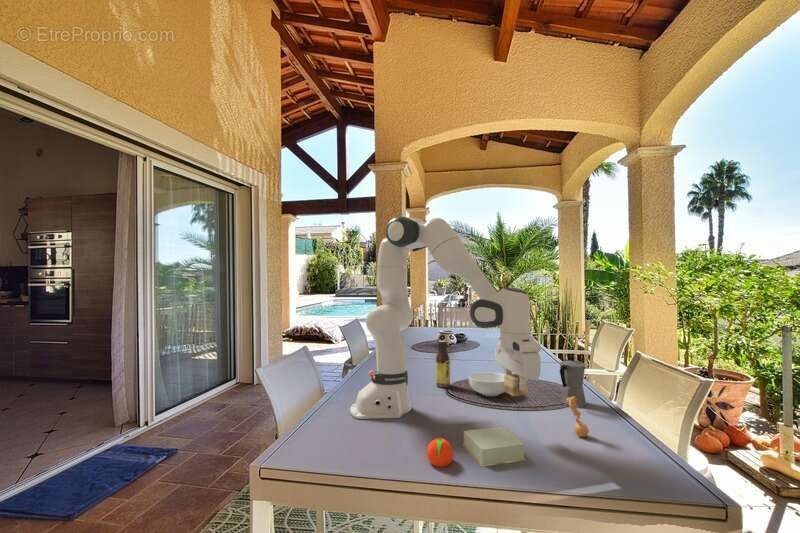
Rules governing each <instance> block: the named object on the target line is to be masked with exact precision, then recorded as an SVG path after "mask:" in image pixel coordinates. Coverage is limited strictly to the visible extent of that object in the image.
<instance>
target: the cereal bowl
mask: <svg viewBox="0 0 800 533" xmlns="http://www.w3.org/2000/svg"><path fill="white" fill-rule="evenodd" d="M504 375H505V373H501V372H492V371H481V372H479V371H478V372H474V373H470V374H469V375H468V382H469V386H470V387H471V389H472V390H473V391H474V392H477V393H479V395H481V394H482V396H484V395H485V396H484V397H497V396H500V395H501V394H503V393H506V392H505V391H504Z"/></svg>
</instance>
